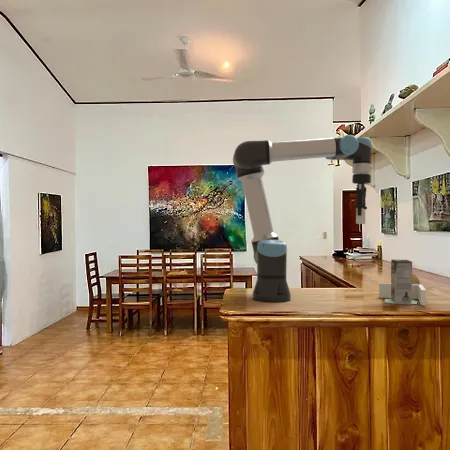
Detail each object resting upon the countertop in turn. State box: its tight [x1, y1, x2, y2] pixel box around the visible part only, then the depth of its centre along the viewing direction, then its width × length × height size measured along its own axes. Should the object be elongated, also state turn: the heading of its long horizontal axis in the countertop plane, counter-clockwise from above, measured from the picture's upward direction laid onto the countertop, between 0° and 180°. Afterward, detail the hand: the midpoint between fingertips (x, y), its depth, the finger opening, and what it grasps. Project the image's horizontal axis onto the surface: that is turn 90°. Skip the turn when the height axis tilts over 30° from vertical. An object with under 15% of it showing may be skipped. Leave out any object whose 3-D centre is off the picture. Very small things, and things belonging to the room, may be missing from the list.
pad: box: [384, 298, 418, 305], centre depth 188 cm, size 12×9×1 cm
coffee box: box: [390, 259, 413, 303], centre depth 187 cm, size 9×6×16 cm
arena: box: [378, 282, 427, 306], centre depth 190 cm, size 16×18×6 cm
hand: (360, 223), depth 206 cm, fingers open, 13 cm apart
